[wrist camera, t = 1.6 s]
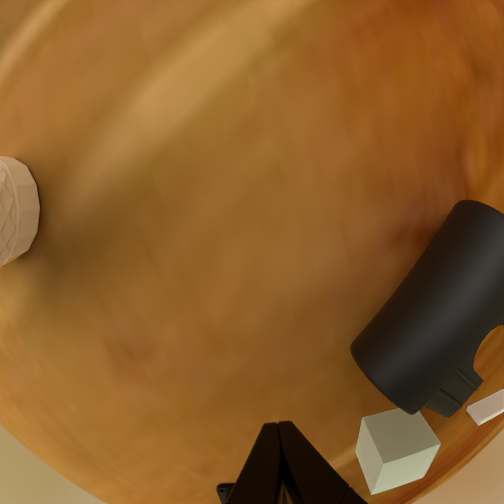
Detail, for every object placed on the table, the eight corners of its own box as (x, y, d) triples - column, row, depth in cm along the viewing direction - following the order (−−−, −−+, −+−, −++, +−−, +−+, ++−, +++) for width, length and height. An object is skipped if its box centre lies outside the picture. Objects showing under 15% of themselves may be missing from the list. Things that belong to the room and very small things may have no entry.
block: (402, 438, 20) (423, 477, 15) (354, 451, 20) (371, 494, 15) (413, 402, 19) (441, 443, 14) (362, 416, 19) (383, 463, 14)
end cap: (432, 192, 15) (513, 204, 9) (484, 260, 16) (552, 290, 10) (332, 325, 17) (373, 397, 10) (400, 372, 18) (445, 434, 11)
